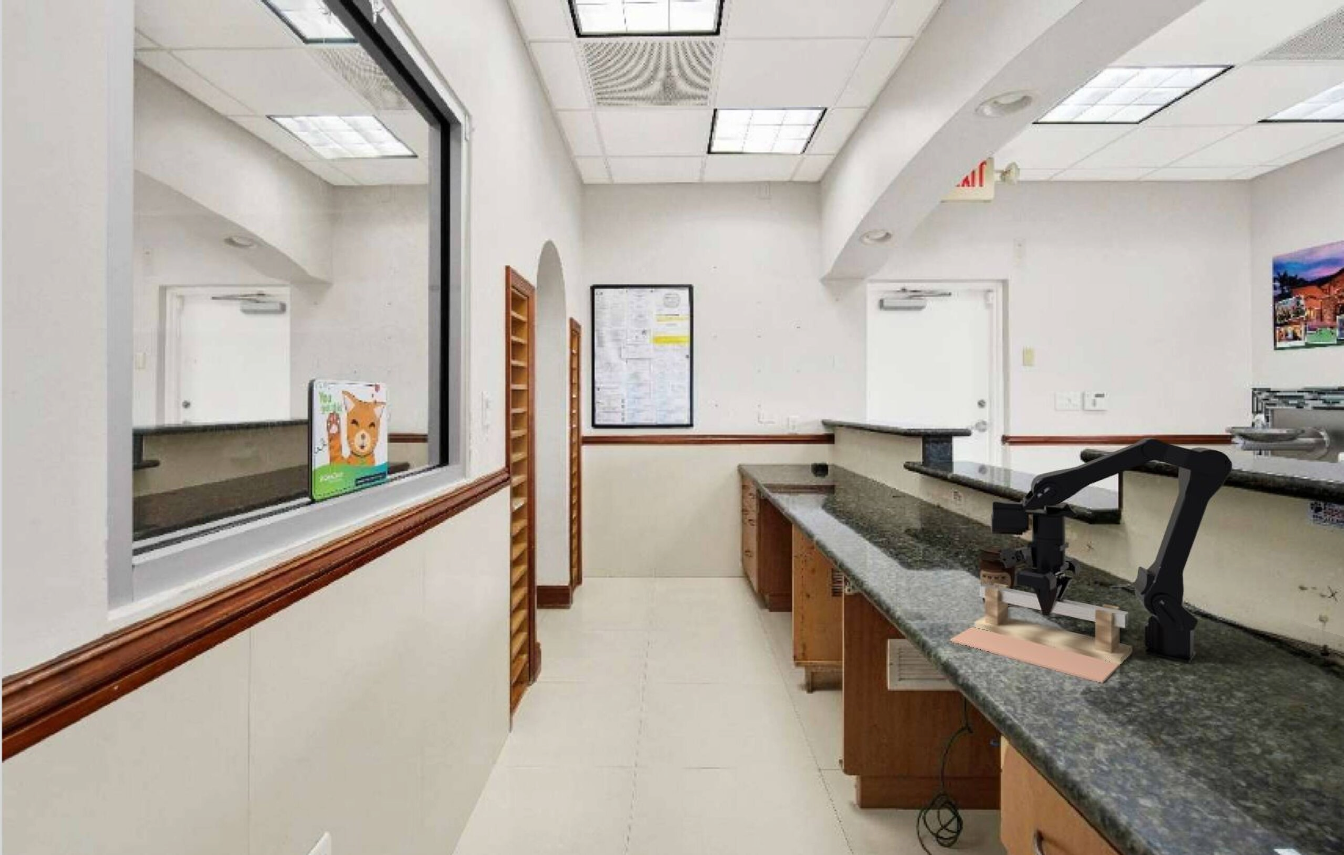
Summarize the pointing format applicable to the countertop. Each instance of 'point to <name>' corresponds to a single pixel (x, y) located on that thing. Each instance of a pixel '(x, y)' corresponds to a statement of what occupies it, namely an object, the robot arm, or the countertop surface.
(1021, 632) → the hook stand
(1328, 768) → the countertop surface
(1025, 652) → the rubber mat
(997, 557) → the coffee cup
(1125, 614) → the steel rail
